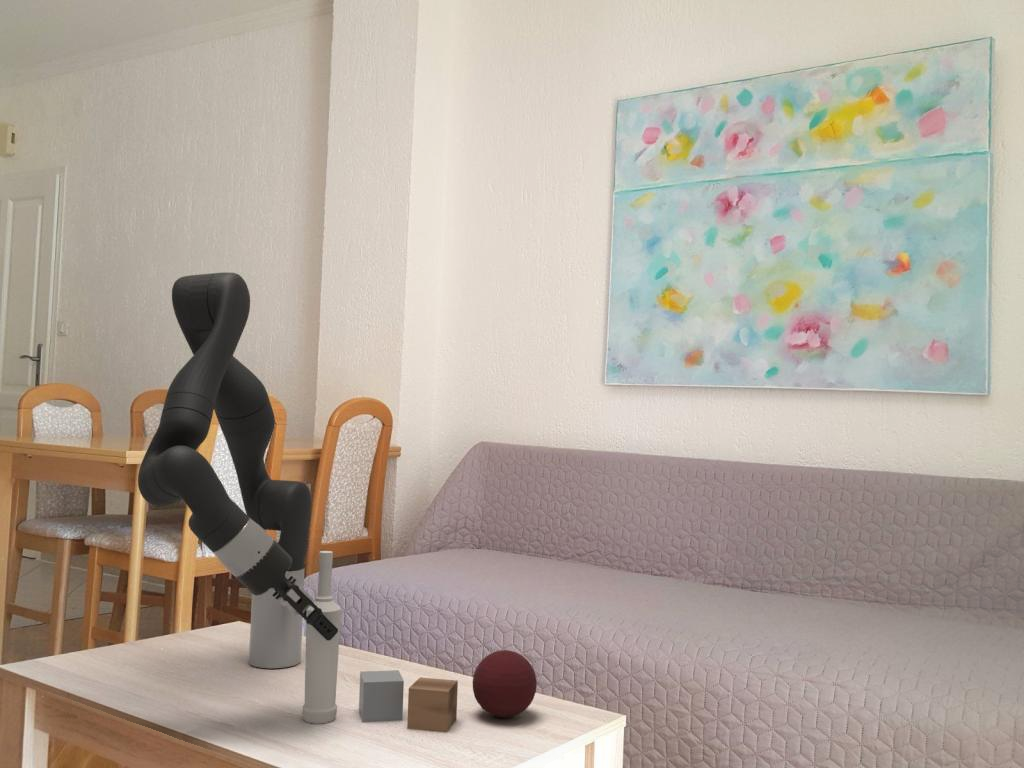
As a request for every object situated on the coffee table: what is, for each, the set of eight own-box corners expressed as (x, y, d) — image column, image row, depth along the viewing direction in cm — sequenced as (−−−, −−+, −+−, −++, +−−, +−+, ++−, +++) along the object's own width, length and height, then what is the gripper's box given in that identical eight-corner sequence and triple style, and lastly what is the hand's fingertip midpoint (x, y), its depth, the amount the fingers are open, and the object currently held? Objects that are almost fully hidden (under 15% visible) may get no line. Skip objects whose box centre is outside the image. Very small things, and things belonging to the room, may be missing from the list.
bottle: (343, 715, 142) (349, 551, 143) (325, 726, 137) (332, 555, 138) (313, 711, 143) (320, 548, 144) (294, 721, 139) (302, 552, 139)
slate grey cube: (358, 710, 145) (360, 671, 145) (397, 708, 146) (398, 670, 147) (362, 722, 139) (363, 682, 139) (402, 721, 141) (403, 681, 141)
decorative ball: (458, 717, 143) (460, 651, 143) (496, 702, 151) (498, 640, 152) (511, 731, 137) (513, 663, 138) (548, 715, 145) (550, 650, 146)
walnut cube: (418, 716, 143) (419, 677, 143) (456, 720, 142) (457, 680, 142) (407, 729, 137) (408, 688, 137) (446, 733, 136) (448, 691, 136)
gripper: (281, 543, 131) (357, 620, 136) (262, 531, 144) (332, 601, 149) (240, 583, 129) (319, 660, 133) (225, 567, 142) (297, 637, 146)
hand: (326, 629), depth 141 cm, fingers open, 8 cm apart
